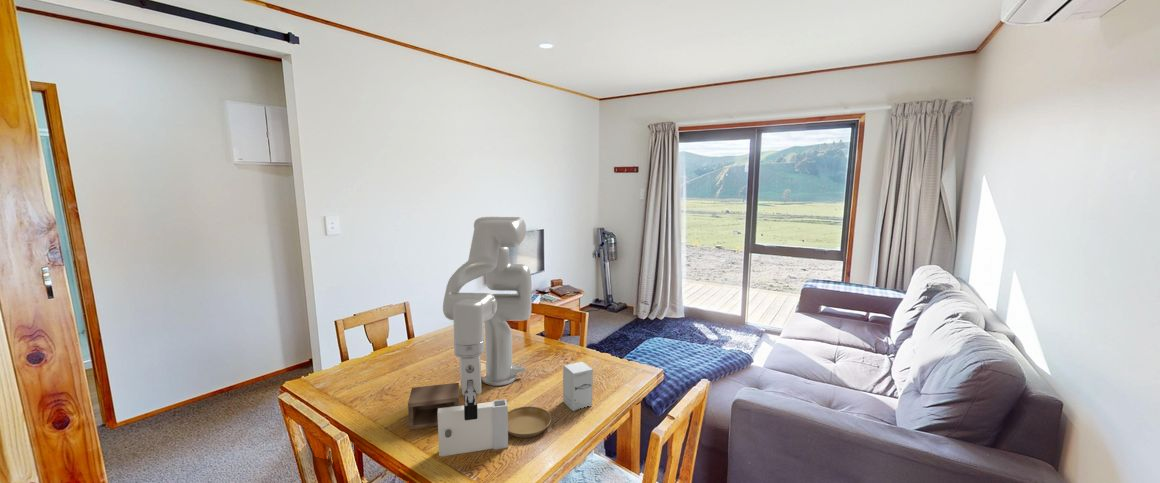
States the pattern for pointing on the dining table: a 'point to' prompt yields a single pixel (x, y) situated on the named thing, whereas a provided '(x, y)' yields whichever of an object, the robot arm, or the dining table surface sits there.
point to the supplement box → (577, 385)
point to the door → (473, 428)
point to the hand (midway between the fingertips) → (470, 409)
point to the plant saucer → (527, 421)
